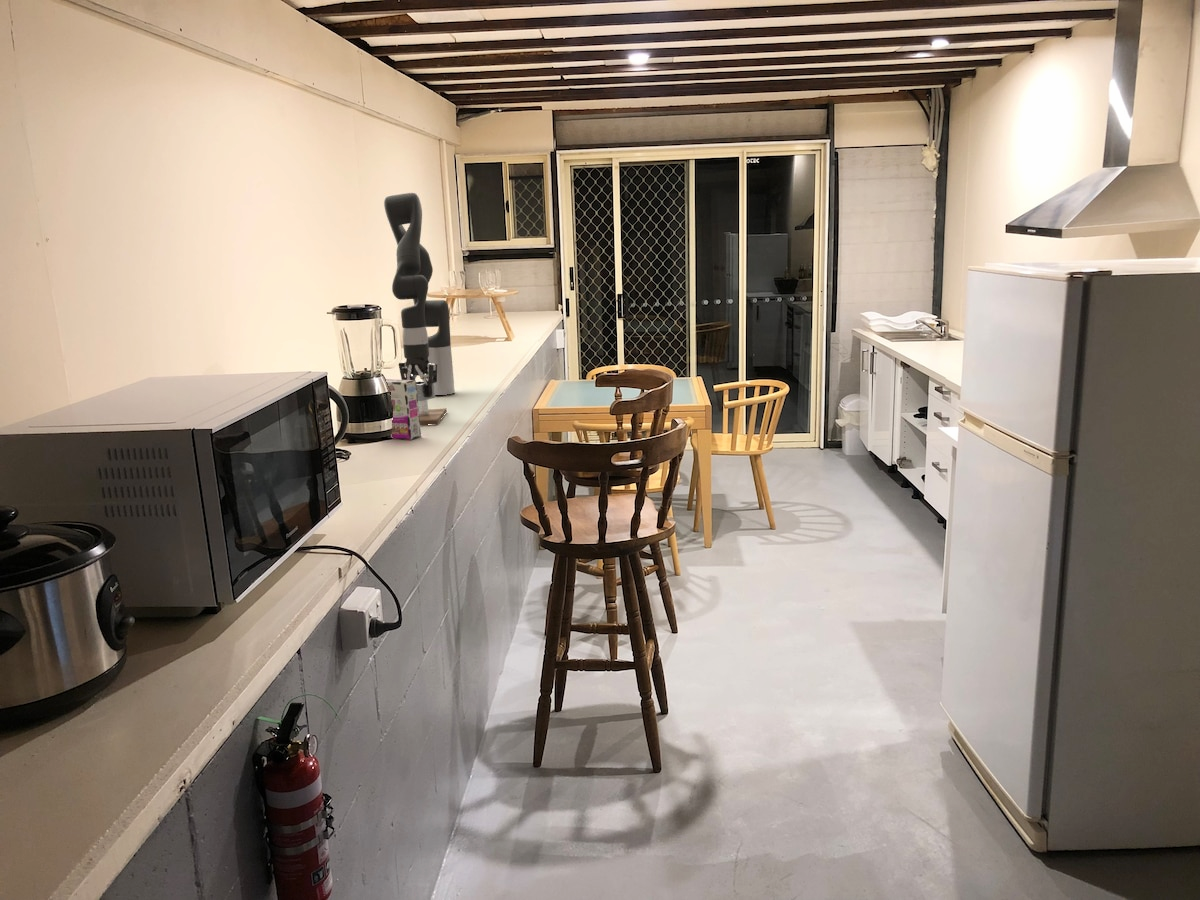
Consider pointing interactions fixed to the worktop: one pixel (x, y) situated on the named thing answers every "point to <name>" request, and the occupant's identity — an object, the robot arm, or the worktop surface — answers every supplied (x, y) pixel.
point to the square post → (423, 408)
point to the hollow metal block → (423, 391)
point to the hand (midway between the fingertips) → (420, 396)
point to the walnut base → (432, 416)
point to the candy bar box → (404, 409)
